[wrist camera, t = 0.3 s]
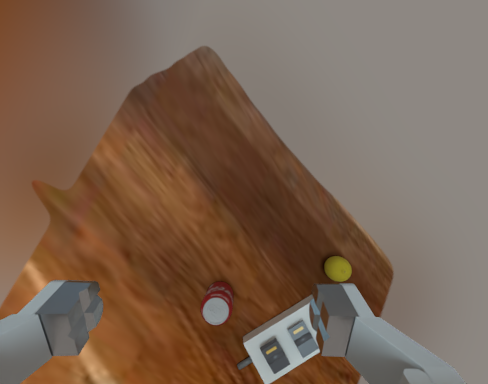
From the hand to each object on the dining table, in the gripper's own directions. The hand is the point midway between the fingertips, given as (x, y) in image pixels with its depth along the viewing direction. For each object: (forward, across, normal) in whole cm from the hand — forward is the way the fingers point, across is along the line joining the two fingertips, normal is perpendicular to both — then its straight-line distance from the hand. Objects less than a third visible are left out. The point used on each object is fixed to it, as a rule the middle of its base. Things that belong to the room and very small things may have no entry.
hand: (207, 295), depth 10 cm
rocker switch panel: (+36, +15, -45) cm, 59 cm away
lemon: (+44, +25, -31) cm, 59 cm away
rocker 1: (+31, +10, -45) cm, 55 cm away
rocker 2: (+32, +16, -42) cm, 55 cm away
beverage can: (+41, -2, -37) cm, 55 cm away
